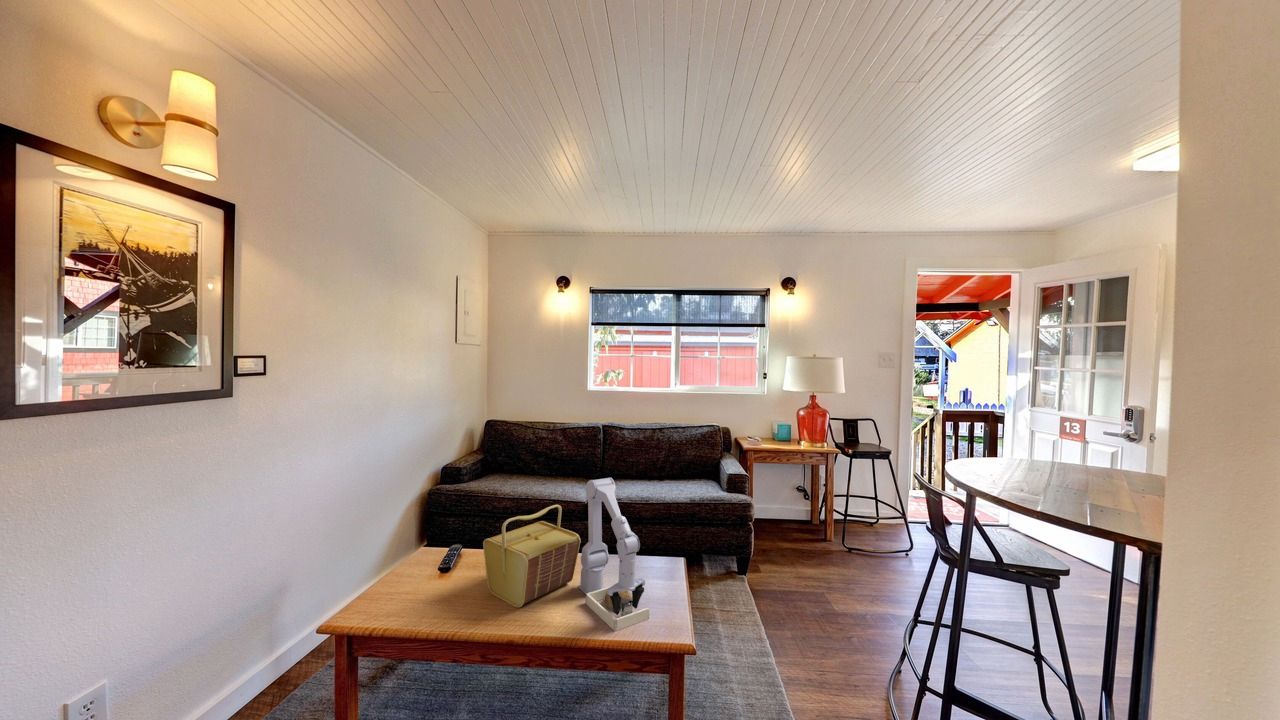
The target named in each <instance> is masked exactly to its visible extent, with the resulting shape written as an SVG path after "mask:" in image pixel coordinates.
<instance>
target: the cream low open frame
mask: <svg viewBox="0 0 1280 720" xmlns="http://www.w3.org/2000/svg"><path fill="white" fill-rule="evenodd" d="M611 586H612V585H611ZM611 586H608V587H604V589H600V590H597V591H594V592H590V593H587V594H585V604H586V606H588V607H589V609H591V610H592V611H593V612H594V613H595V614H596V615H597V616H598V617H599V618H600V619H601V620H602V621H603V622H604V623H606V625H608V626H609V628H611V629H612V630H613V631H614V632H617V631H618V630H619V631H620V630H623V629H625V628H627V627H631V626H633V625H636V624H638V623H641V622H644V621H646V620H649V619H650V608H649V607H646V608H643V609H639V610H637V611H634V612H632V613H631V614H628V615H625V616H622V617H620V616H619V617H617V618H616V617H615V616H614V615H612V613H610V612H609V611H608V610H607V609H606V608H605V607H604V606H602V605H601V604H600V603H599V601H601V600H605V595H606V593H607V588H609V587H611Z"/></svg>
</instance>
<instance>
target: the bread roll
mask: <svg viewBox="0 0 1280 720" xmlns="http://www.w3.org/2000/svg"><path fill="white" fill-rule="evenodd" d="M618 594H619V596H620V597H622V598H621V600H623V599H630V600H632V593H631V591H629V590H627V591H621V592H618ZM604 604H605V605H606V607H607V608H609V609H610V610H613V611H614V609H613V604H612V601H611V599H610V596H609V595H608V594H607V593H606V595H605V599H604ZM619 611H621V601H620V608H619Z"/></svg>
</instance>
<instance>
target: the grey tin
mask: <svg viewBox="0 0 1280 720" xmlns="http://www.w3.org/2000/svg"><path fill="white" fill-rule="evenodd" d="M632 604H633V601H632V600H630V599H623V600H621V610H620V612H619V614H620V616H619V618H620V617H622V616H625V615H628V614H631V613H633V606H632Z"/></svg>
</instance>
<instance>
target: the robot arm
mask: <svg viewBox="0 0 1280 720" xmlns="http://www.w3.org/2000/svg"><path fill="white" fill-rule="evenodd" d="M616 489H617V487H616V483H615V480H614V479H613V478H612V477H605V478H599V479H590V480H588V482H587V483H586V484H585V497H586V498H585V499H586V500H587V502H588V504H587V506H588V507H587V508H588V519H587V520H588V542H587V543H585V545H584V546H583V547H582V548H581V555H580V565H581V569H580V584H579V585H578V586H577V587H578V588H579V589H580V590H581V591H582V592H583V593H584V594H585V595H586V594H587V593H590V592H594V591H597V590H600V589H604V588H605V587H604V574H605V572H604V570H605V569H606V565H608V564H609V560H610V556H609V552H608V545H607V544H606V543H604V542H603V538H602V537H603V529H602V528H603V527H602V526H603V525H602V521H603V520H602V517H603V516H602V512H603V511H602V503H604V506H605V508H606V510H607V512H608V513H609V516H610V518H611V519H612V520H611V523H610V525H611V527H612V528H611V529H612V530H613V533H614V535H615V537H616V540H617V543H616V550H617V557H618V559H619V561H618V562H619V564H618V566H619V567H618V582H617V583H615V584H613V585H611V587H610V586H608V587H609V588H607V587H606V588H607V594H608V595H609V596H610V599H611V601H612V604H613V609H614V610H613V609H612V610H613V613H614V614H615V615H616V616H618V615H619V614H620V610H619V608H620V601H621V598H622V597H620V596H619V594H618V592H621V591H627V590H628V591H629V592H631V597H632V601H633V604H632V608H634V609H635V610H636V609H638V605H639V603H640V601H641V600H640V599H641V598H642V595H643V593H644V592H645V588H644V586H645V585H646V579H644V578H643V577H640V578H636V569H637V567H636V565H637V564H636V562H637V552H639V550H640V547H641V543H640V539H639V537H638V535H637V534H635V533H634V532H633V531H632V530H631V527H630V525H629V522H628V520H627V518H626V517H625V516H623V515H622V513H621V510H620V507H619V503H618V501H617V498H616Z"/></svg>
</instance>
